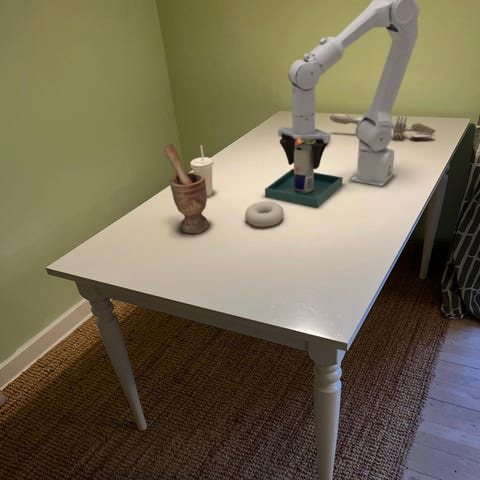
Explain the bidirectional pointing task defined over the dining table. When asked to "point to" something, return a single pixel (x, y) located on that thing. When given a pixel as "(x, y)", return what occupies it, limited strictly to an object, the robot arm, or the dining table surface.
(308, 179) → the energy drink
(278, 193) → the tray
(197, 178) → the mortar and pestle
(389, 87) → the robot arm
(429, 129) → the cutlery set
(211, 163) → the smoothie
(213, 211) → the dining table surface
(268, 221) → the donut
